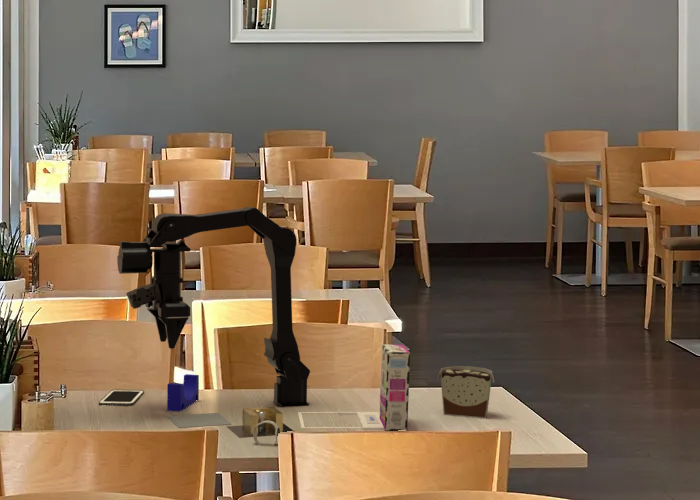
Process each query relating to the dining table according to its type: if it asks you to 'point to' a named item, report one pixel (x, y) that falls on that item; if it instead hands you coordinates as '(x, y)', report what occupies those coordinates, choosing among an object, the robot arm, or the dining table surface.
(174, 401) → the blue arch block
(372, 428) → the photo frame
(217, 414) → the coaster
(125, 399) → the cell phone
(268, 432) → the stand
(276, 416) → the tan wooden block
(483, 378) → the food container
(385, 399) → the candy bar box
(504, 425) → the dining table surface
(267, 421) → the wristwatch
